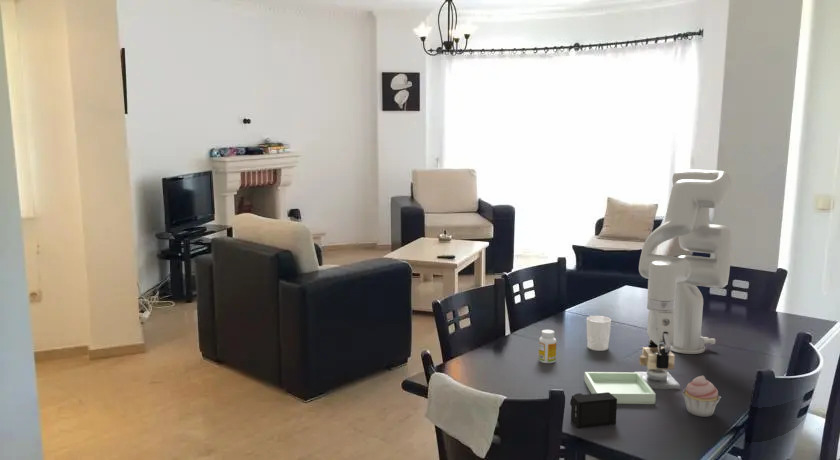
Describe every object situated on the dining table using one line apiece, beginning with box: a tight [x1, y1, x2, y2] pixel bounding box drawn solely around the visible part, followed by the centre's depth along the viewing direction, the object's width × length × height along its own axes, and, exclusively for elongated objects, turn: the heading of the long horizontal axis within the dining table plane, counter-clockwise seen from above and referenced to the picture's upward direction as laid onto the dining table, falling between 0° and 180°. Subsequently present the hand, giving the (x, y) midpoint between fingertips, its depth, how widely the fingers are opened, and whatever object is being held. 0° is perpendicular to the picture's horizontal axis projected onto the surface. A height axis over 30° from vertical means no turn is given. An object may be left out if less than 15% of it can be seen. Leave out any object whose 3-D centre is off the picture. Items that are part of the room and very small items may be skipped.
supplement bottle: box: [538, 329, 557, 364], centre depth 210 cm, size 5×5×10 cm
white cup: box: [586, 315, 612, 352], centre depth 222 cm, size 8×8×10 cm
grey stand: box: [637, 352, 681, 390], centre depth 192 cm, size 10×10×9 cm
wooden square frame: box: [638, 346, 676, 370], centre depth 192 cm, size 9×7×4 cm
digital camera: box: [569, 392, 618, 429], centre depth 167 cm, size 10×5×7 cm, turn 102°
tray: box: [583, 371, 657, 405], centre depth 186 cm, size 16×16×3 cm
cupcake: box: [682, 375, 722, 418], centre depth 172 cm, size 9×9×10 cm
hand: (657, 362), depth 192 cm, fingers closed on wooden square frame, 7 cm apart
